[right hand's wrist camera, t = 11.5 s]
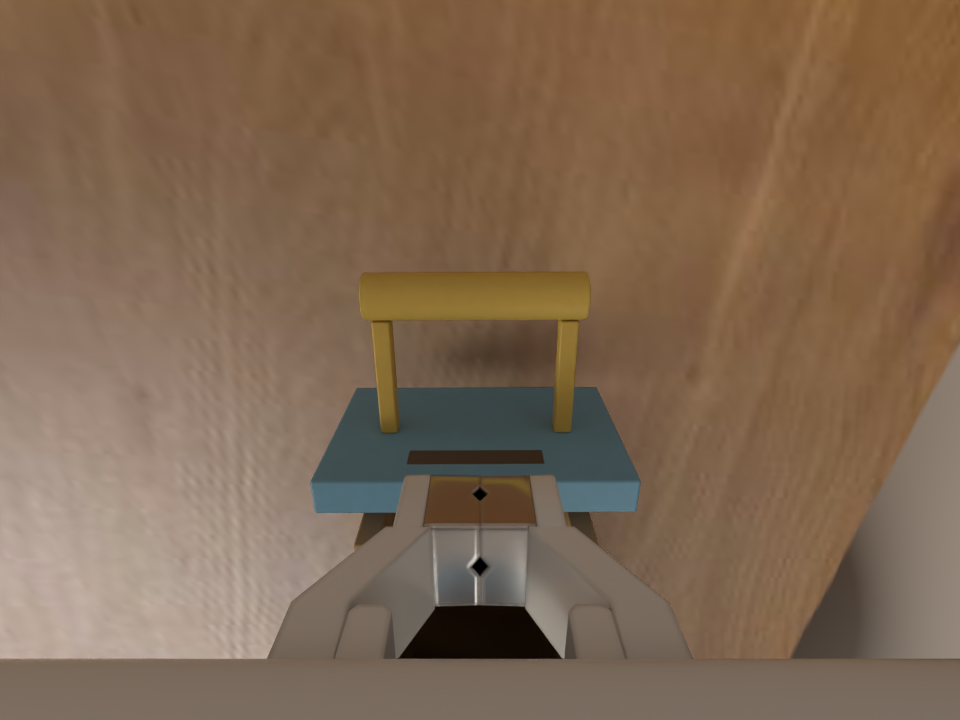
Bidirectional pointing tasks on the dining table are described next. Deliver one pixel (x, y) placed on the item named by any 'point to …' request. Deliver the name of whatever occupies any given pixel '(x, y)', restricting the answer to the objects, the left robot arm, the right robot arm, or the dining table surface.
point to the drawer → (475, 435)
